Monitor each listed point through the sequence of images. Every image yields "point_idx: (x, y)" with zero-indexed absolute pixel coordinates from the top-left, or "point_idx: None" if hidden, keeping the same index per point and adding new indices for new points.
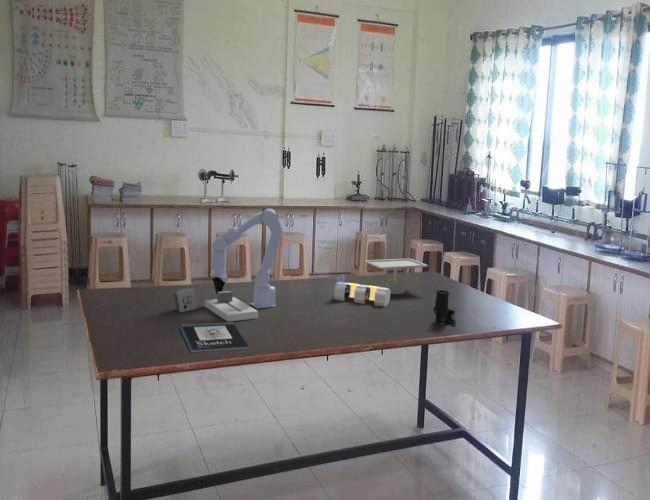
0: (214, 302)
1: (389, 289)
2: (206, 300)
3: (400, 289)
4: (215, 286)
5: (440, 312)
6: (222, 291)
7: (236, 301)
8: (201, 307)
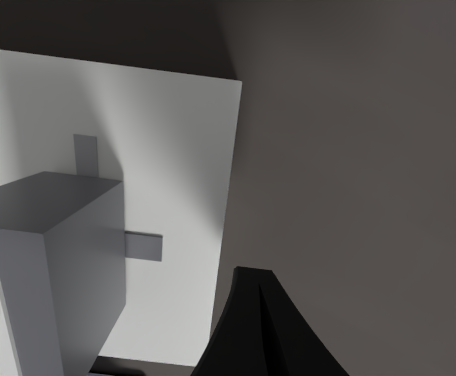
0: (85, 127)
1: None
2: (205, 82)
3: None
4: (283, 353)
5: None
6: (43, 315)
7: None
8: (224, 36)
